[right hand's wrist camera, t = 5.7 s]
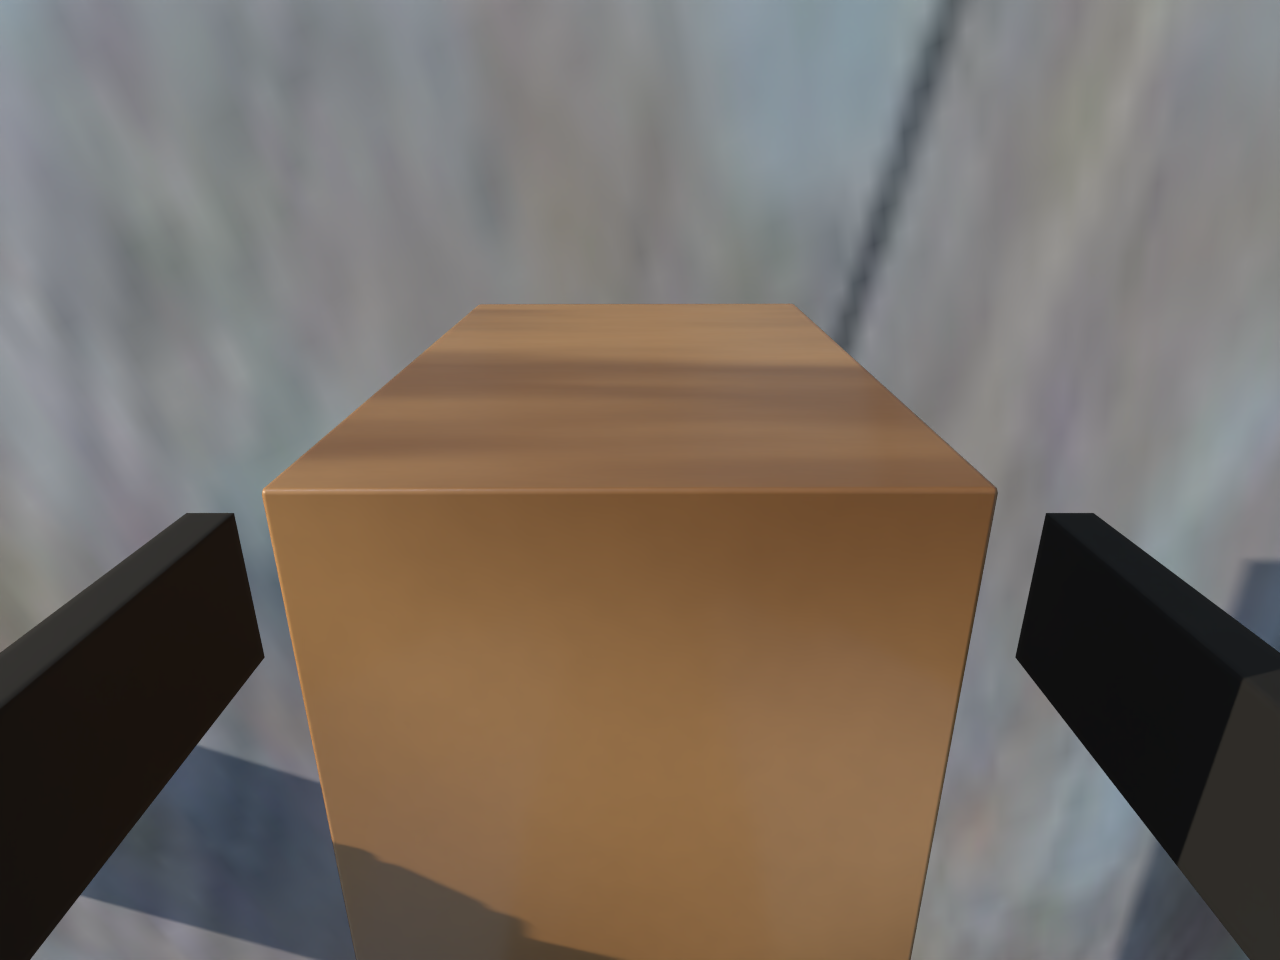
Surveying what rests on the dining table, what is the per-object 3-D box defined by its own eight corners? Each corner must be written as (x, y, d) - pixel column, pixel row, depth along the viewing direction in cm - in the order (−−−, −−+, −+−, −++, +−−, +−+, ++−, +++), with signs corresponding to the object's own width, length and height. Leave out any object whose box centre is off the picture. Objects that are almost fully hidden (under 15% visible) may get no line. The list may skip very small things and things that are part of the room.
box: (477, 304, 15) (257, 489, 6) (794, 303, 15) (1001, 488, 6) (537, 1052, 23) (478, 1568, 14) (740, 1053, 23) (798, 1568, 14)
